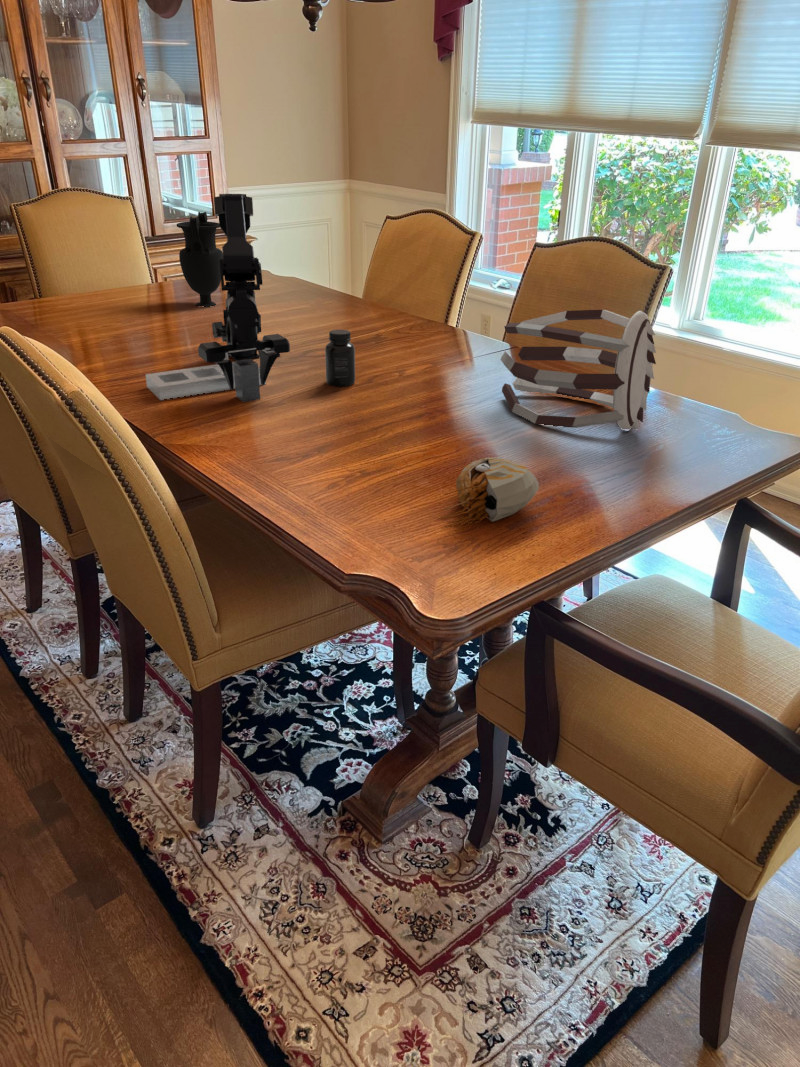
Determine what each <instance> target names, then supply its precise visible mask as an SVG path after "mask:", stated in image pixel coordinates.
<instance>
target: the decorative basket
mask: <svg viewBox="0 0 800 1067" xmlns="http://www.w3.org/2000/svg"><path fill="white" fill-rule="evenodd" d="M584 320H586V321H587V320H605V321H608V322H610V323H613V324H616V325H619V326H621V327H624V328H625V329H624V331H623V333H622V336H621V338H617V337H616V338H615V337H612V336H606V335H601V334H596V333H590V332H585V331H580V330H579V331H578V330H574V329H566V328H561V327H555V326H550V325H554V324H558V323H562V322H567V321H584ZM504 330H505V332H506V334H516V335H517V334H518V335H522V336H523V335H524V336H532V337H537V338H538V337H539V338H546V339H551V340H557V341H563V342H569V343H573V344H574V343H575V344H579V345H586V346H589V347H595V348H594V349H593V348H587V347H576V346H575V347H574V346H521V348H520V350H519V352H518V353H517V355H518V357H519V359H520V360H521V361H565V362H567V361H568V362H578V363H586V364H587V363H589V364H596V365H597V364H599V365H603V366H607V367H610V368H613V369H614V373H575V372H565V371H556V370H554V371H553V370H546V369H539V368H536V367H532V366H529V365H527V364H523V363H520V362H517V361H515V360H514V359H513V358H512V356H510V355H509V354H508V353H507V352H506V351H504V352H503V354H502V355H501V356H500V361H501V362H502V364H503V366H505V368H506V369H507V370H508V371H509V372H510V373H511V374H512V376H514V377H515V379H514V381H513V382H512V383H511V384H512V385H511V384H510V383H509V384H508V383H503V385H502V387H501V392H502V394H503V396H504V399H505V400H506V403H507V405H508V407H509V408H510V410H511V412H512V413H513V414H516V415H517V416H520V417H521V416H522V418H523V417H524V418H523V419H525V418H526V420H527V419H528V420H527V421H529V420H530V421H529V422H531V423H533V424H535V425H537V424H544V425H553V426H552V427H557V426H563V427H562V428H573V429H575V428H576V429H577V428H584V427H590V426H596V425H603V424H608V423H609V424H610V423H615V422H616V423H617V424H618V427H619V429H620V428H622V429H630V428H632V429H633V430H635V429H638V430H639V426H640V425H639V424H640V422H641V423H643V422H644V421H643V420H644V411H647V403H648V402H647V400H648V396H649V394H650V388H651V380H652V379H654V380H655V376H654V375H655V374H654V370H653V368H654V367H653V365H657V362H656V358H655V356H654V354H657V351H656V347H655V341H654V336H656V334H655V332H654V330H653V327H652V325H651V321H650V319H649V316H648V315H647V313H645V312H644V311H642V310H637V311H636V312H635V313H634V314H633V315H632V316H631V317H630V318H629V317H626V316H624V315H621V314H617V313H615V312H612V311H611V310H610V311H609V310H607V309H582V310H580V309H579V310H564V311H560V312H556V313H552V314H548V315H543V316H539V317H536V318H535V317H534V318H530V319H527V320H522V321H521V322H509V323H507V324H506V325H505V326H504ZM597 348H600V349H597ZM604 349H606V350H604ZM608 350H610V351H608ZM611 351H617V353H615V352H611ZM512 386H513V388H514V390H513V388H512ZM515 390H516V391H519V392H525V391H527V392H526V393H531V392H540V393H556V394H562V395H567V396H572V397H579V398H584V399H590V400H593V401H596V402H598V403H601V404H604V405H607V406H610V407H612V408H614V409H613V411H606V412H600V413H593V414H588V415H582V416H564V415H563V416H560V415H543V414H540V413H538V412H535V411H534V410H532V409H530V408H528V407H526V406H524V405H523V404H521V402H520V401H519V399H518V397H517V396H516V394H515V392H514V391H515ZM592 390H613V391H612V392H613V394H607V393H602V392H598V391H592ZM639 421H640V422H639Z"/></svg>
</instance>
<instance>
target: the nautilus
mask: <svg viewBox="0 0 800 1067" xmlns="http://www.w3.org/2000/svg"><path fill="white" fill-rule="evenodd" d="M455 485H456V486H455V487H456V490H453V491H451V492H447V493H444V494H443V496H446V495H449V494H452V493H455V492H456V493H457V495H455V496H452V497H450V498H448V500H451V499H454V498H455V499H458V500H459V502H460V503H457V504H454V505H451V506H450V507H446V508H444V509H443V511H446V510H449V509H452V508H454V507H457V506H460V505H461V506H462V507H463V508H462V510H458V511H457V512H453V513H451V514H449V515H446V516H442V517H437V518H436V520H444V519H445V520H446V519H451V518H454V517H458V516H460V515H463V514H468V515H467V516H465V517H462V518H460V519H457V520H453V521H451V522H449V521H448V522H447V524H450V525H447V526H445V527H441V529H447V528H451V527H454V525H455V526H457V525H456V524H461V525H458V526H457V528H456V529H455V530H454V531H458V530H459V529H460V527H461V526H464V525H463V524H464V523H468V524H467V525H470V524H472V522H473V523H475V524H477V523H480V522H481V521H482V520H484V519H486V517H487V519H488V520H489V521H490V522H492V523H493V522H495V521H496V522H497V521H499V520H501V519H503V518H506V517H510V516H512V515H514V514H516V513H517V512H518V511H520V510H522V509H523V508H524V507H526V505H528V503H529V502H530V501H531V500H532V499H533V498H534V496H535V495H536V494H537V492H538V491H539V487H540V484H539V482H538V478H536V476H535V475H534V474H533V473H532V471H530V470H529V469H528V468H527V467H526V466H525V465H522V464H520V463H518V462H516V461H512V460H510V459H506V458H501V457H492V456H491V457H490V456H489V457H485V458H480V459H478V460H474V461H472V462H471V463H469V464H467V465H466V466H464V468H463V469H462V470H461V473H460V474H458V476H457V478H456V480H455ZM466 510H467V511H466ZM474 515H475V516H474ZM470 520H471V521H470ZM477 520H478V521H477ZM468 521H470V522H468ZM455 522H456V523H455ZM453 523H454V524H453ZM469 523H470V524H469Z"/></svg>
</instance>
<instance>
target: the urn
mask: <svg viewBox="0 0 800 1067" xmlns="http://www.w3.org/2000/svg"><path fill="white" fill-rule="evenodd" d="M176 227H177V228H178V229H181V230H182V232H183V236H184V248H182V249H181V250H180V251H179V255H178V256H179V264H180V267H181V271H182V274H183V277H184V279H185V282H186V283H187V285H188V286H189V287H190V288H191V290H193V291H194V292H195V293H197V294H198V295H199V302H197V303H195V306H196V305H197V306H204V307H203V308H211V307H210V306H214V307H216V306H217V305H216V304H217V303H216V302H214V301H212V297H211V296H212V294H213V293H214V292H215V291H217V290H218V288H219V287H220V284H221V273H220V259H219V258H223V251H222V250H221V249H220V248H218V247H217V244H216V232H217V229H221V228H220V226H219V222H215V221H208V214H207V212H206V211H204V212H201V211H198V213H197V216H196V217H193V216H189V220H188V221H182V222H178V223H176ZM215 305H216V306H215ZM197 306H196V307H197Z"/></svg>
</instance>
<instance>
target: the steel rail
mask: <svg viewBox="0 0 800 1067" xmlns="http://www.w3.org/2000/svg"><path fill="white" fill-rule="evenodd" d="M232 368H233V380H234V388H233V390H236V388H235V375H234V362H233V361H232ZM258 371H259V386H263V385H262V384H261V380H260V366H258ZM145 380H146V381H145V382H146V388H147V389H148V390H149V391H151V392H152V394H153V395H154V396H156V397H157V399H158V400H159V401H165V400H164V399H167V400H171V399H170V398H173V399H178V398H177V397H180V398H185V397H184V396H186V397H191V396H190V395H192V396H198V395H197V394H199V395H204V394H203V393H205V394H210V393H211V392H212V393H217V392H223V391H224V390H225V391H230V387H229V385H228V383H227V380H226V378H225V376H224V373H223V371H222V369H221V368H220V366H219V365H217V364H210V365H202V366H197V367H196V366H195V367H188V368H181V369H173V370H167V371H159V372H153V373H152V372H151V373H146V374H145ZM264 385H267V381H266V382H265V384H264Z"/></svg>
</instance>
